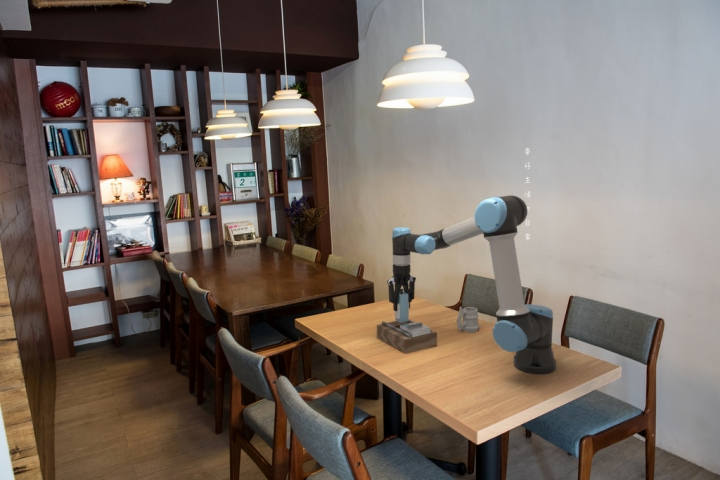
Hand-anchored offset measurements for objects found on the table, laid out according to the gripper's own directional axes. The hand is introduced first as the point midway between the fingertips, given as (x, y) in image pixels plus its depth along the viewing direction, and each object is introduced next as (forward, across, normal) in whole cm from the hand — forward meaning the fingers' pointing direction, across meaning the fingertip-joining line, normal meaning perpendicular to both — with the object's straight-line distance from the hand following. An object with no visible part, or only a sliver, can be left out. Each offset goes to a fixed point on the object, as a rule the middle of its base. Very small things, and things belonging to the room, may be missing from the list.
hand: (401, 317), depth 226 cm
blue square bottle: (+2, 0, 0) cm, 2 cm away
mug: (+10, -31, +6) cm, 33 cm away
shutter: (+4, 0, +10) cm, 10 cm away
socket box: (+10, 0, +3) cm, 11 cm away
